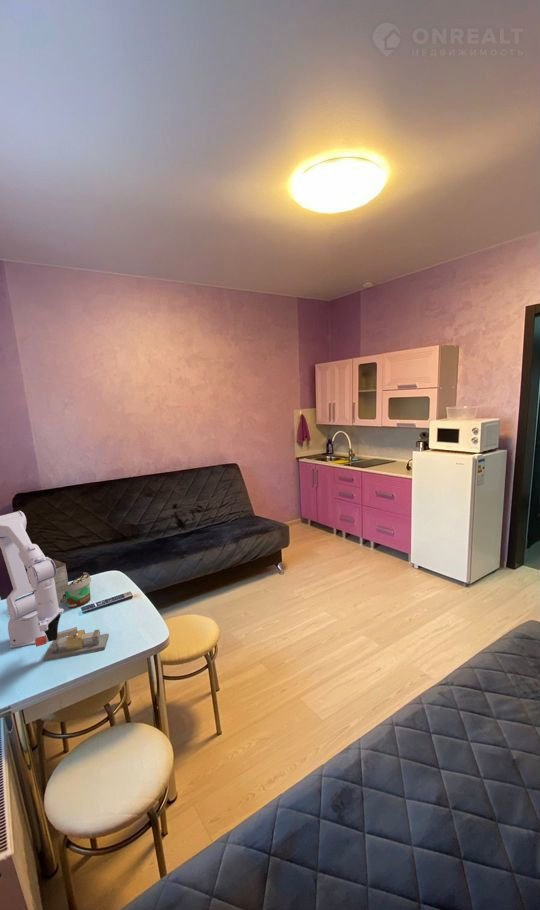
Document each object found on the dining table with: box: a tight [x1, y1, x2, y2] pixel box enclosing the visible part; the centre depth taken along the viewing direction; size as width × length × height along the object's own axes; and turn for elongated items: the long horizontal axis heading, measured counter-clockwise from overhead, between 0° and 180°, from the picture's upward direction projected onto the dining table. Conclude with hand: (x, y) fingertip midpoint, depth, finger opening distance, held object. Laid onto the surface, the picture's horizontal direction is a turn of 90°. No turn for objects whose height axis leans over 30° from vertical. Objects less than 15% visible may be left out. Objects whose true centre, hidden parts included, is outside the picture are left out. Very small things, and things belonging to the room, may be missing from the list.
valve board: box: [42, 633, 110, 662], centre depth 125 cm, size 18×7×1 cm, turn 103°
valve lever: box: [35, 626, 79, 648], centre depth 121 cm, size 12×2×2 cm, turn 118°
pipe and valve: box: [50, 629, 101, 653], centre depth 124 cm, size 14×4×4 cm, turn 103°
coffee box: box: [52, 558, 69, 606], centre depth 155 cm, size 9×6×16 cm
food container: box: [63, 572, 92, 609], centre depth 153 cm, size 12×6×10 cm, turn 168°
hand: (53, 639), depth 120 cm, fingers closed, pressing on valve lever
